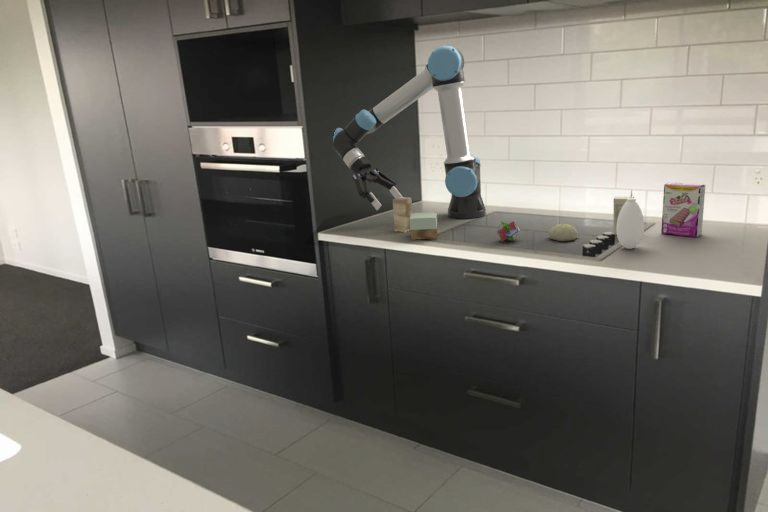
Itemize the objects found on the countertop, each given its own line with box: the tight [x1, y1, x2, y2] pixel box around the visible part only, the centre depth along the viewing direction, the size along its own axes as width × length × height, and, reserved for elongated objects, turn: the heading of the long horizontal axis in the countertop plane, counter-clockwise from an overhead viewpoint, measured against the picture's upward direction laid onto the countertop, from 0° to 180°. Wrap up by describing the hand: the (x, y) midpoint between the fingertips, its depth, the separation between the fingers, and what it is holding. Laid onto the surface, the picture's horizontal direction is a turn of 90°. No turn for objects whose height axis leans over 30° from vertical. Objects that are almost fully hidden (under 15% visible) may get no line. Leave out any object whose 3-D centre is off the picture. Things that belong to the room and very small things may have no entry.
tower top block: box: [410, 211, 438, 230], centre depth 220 cm, size 9×9×4 cm
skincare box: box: [613, 196, 635, 236], centre depth 206 cm, size 6×4×12 cm
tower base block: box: [410, 227, 438, 241], centre depth 221 cm, size 9×9×4 cm
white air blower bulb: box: [616, 189, 645, 250], centre depth 188 cm, size 8×8×18 cm
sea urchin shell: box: [548, 223, 578, 242], centre depth 206 cm, size 9×8×8 cm
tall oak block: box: [392, 196, 413, 233], centre depth 232 cm, size 5×5×12 cm
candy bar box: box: [660, 181, 706, 238], centre depth 199 cm, size 11×5×16 cm, turn 47°
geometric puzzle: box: [496, 220, 521, 243], centre depth 208 cm, size 7×7×8 cm
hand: (390, 204), depth 233 cm, fingers open, 13 cm apart
